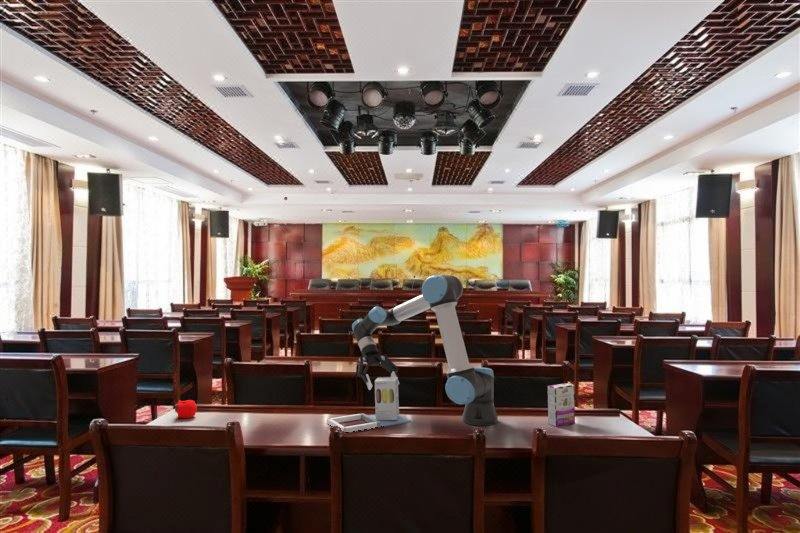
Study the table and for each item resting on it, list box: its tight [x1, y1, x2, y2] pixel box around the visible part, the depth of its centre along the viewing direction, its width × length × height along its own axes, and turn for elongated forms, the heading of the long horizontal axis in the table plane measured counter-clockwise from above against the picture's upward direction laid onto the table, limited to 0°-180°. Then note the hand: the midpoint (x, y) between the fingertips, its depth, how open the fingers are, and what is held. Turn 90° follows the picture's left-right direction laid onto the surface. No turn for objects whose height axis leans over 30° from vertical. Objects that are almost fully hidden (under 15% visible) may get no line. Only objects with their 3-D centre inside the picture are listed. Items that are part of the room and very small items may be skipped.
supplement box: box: [374, 376, 400, 420], centre depth 210 cm, size 10×9×17 cm
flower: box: [176, 399, 198, 419], centre depth 211 cm, size 8×8×8 cm
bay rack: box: [326, 412, 412, 433], centre depth 204 cm, size 16×32×2 cm, turn 122°
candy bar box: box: [547, 382, 576, 428], centre depth 204 cm, size 11×5×16 cm, turn 117°
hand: (384, 386), depth 211 cm, fingers open, 13 cm apart
